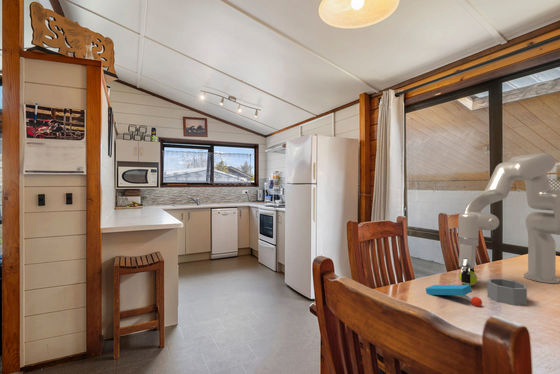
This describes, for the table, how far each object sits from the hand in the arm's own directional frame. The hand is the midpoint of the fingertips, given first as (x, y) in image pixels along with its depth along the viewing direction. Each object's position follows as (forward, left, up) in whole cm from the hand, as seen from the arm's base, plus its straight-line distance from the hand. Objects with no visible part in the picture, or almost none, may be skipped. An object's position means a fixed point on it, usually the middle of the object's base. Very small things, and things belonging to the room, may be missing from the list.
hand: (467, 279), depth 126 cm
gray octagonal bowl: (+8, +14, -2) cm, 16 cm away
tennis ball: (0, 0, -3) cm, 3 cm away
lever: (+22, -1, -3) cm, 22 cm away
